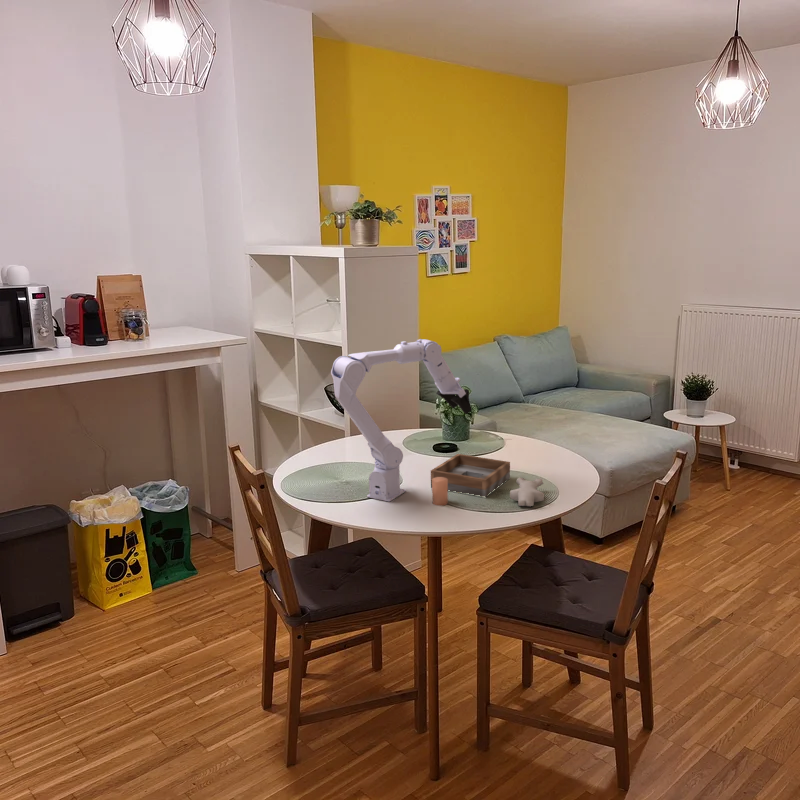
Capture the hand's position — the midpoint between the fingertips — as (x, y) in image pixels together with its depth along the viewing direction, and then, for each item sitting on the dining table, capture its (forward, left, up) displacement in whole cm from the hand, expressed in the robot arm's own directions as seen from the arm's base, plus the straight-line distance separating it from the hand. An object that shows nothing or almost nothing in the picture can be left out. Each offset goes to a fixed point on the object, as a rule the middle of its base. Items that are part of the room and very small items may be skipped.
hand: (462, 409), depth 223 cm
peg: (-21, -3, -22) cm, 31 cm away
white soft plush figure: (-7, -24, -23) cm, 34 cm away
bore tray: (-3, -4, -22) cm, 23 cm away
